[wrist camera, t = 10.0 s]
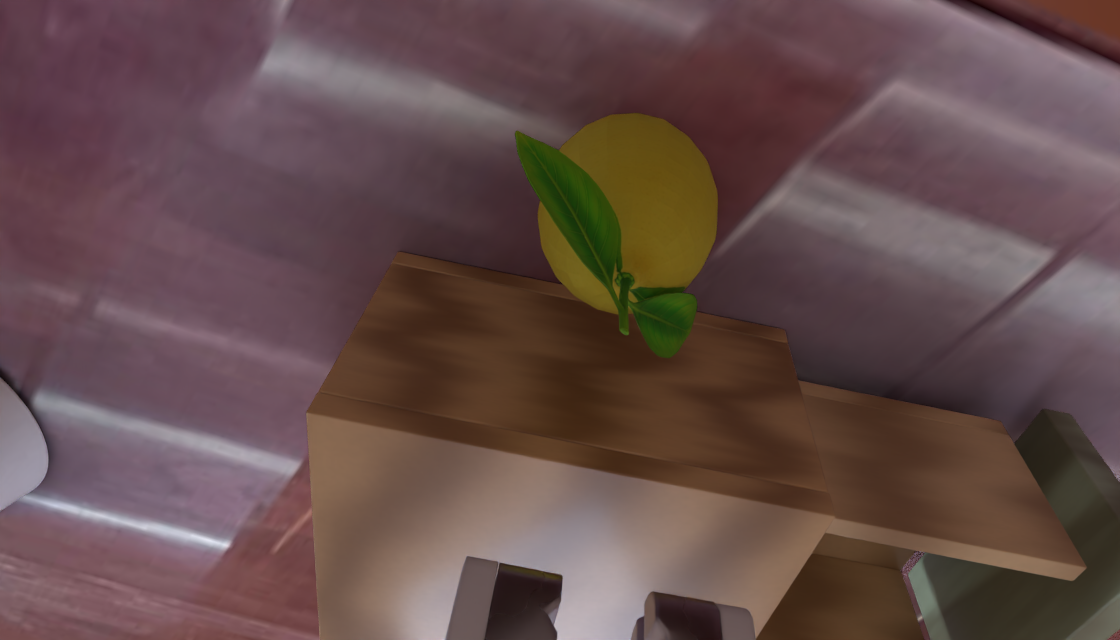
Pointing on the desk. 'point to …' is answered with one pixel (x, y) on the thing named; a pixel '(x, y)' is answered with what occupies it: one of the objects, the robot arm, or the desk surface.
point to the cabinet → (552, 458)
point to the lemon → (627, 220)
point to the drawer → (955, 528)
